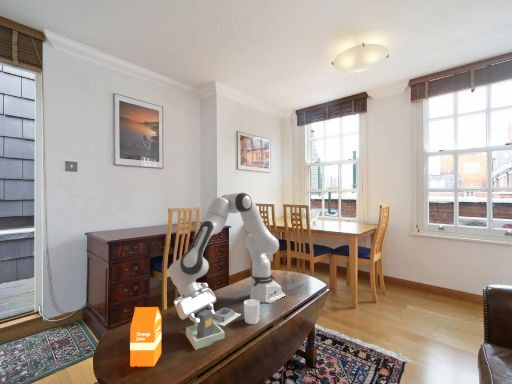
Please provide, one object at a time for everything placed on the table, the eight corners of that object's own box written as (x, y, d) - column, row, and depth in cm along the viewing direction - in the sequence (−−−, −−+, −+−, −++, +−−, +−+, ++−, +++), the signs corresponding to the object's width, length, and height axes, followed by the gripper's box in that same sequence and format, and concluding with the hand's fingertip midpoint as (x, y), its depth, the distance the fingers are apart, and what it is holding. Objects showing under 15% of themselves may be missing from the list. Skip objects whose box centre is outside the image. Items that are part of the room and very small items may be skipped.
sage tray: (212, 327, 122) (212, 319, 122) (224, 340, 111) (224, 332, 111) (185, 335, 115) (185, 327, 115) (195, 349, 104) (195, 341, 104)
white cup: (240, 322, 127) (240, 301, 127) (252, 317, 132) (252, 297, 132) (250, 328, 121) (250, 307, 121) (262, 323, 126) (262, 302, 126)
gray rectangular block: (206, 331, 116) (206, 309, 117) (213, 333, 114) (213, 311, 114) (197, 336, 112) (197, 313, 112) (204, 339, 110) (204, 316, 110)
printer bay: (223, 310, 140) (223, 304, 140) (241, 316, 133) (241, 309, 133) (205, 321, 128) (205, 314, 128) (224, 328, 121) (224, 320, 121)
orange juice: (154, 366, 94) (154, 311, 94) (129, 366, 94) (130, 311, 94) (161, 353, 102) (161, 302, 102) (139, 353, 102) (139, 303, 102)
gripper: (175, 295, 108) (191, 325, 103) (209, 282, 126) (224, 306, 120) (168, 304, 111) (184, 333, 105) (202, 289, 128) (217, 313, 122)
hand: (206, 319), depth 113 cm, fingers open, 8 cm apart
